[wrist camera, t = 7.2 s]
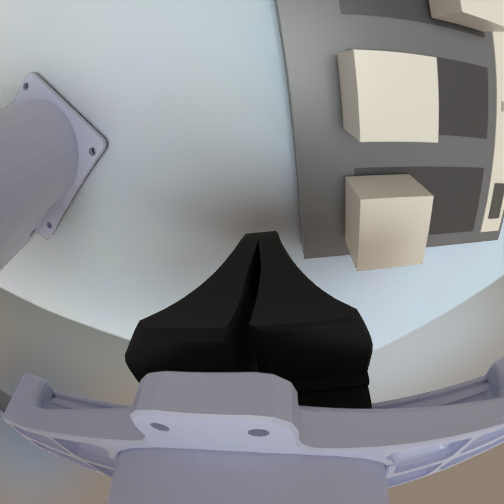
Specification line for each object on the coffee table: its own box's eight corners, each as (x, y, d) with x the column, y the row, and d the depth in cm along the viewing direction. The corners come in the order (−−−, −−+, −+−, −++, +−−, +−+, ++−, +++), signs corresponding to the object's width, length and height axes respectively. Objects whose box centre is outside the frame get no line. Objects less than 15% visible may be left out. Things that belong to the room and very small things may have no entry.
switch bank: (302, 244, 18) (304, 260, 17) (263, -58, 9) (263, -71, 7) (487, 228, 17) (499, 241, 15) (488, -21, 7) (503, -24, 6)
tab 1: (343, 128, 13) (360, 142, 10) (336, 54, 11) (353, 49, 8) (410, 128, 12) (437, 142, 10) (407, 57, 10) (436, 57, 8)
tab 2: (344, 239, 16) (356, 270, 14) (345, 176, 14) (360, 199, 12) (403, 234, 15) (422, 263, 13) (409, 174, 14) (433, 195, 11)
